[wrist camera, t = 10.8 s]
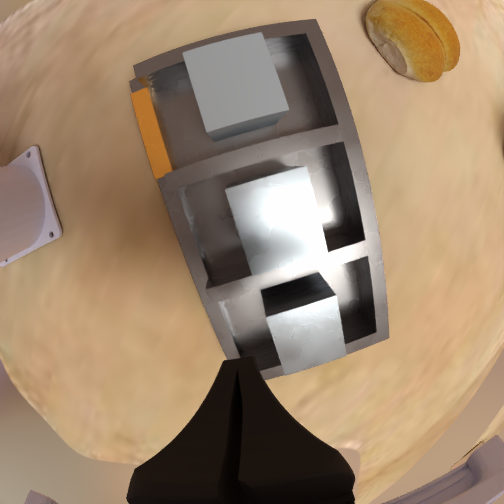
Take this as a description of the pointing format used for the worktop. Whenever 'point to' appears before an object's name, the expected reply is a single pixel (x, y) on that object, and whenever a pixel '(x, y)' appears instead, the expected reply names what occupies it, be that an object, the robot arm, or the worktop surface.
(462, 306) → the worktop surface
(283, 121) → the rack
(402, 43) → the bread roll
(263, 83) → the grey block
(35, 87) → the worktop surface
